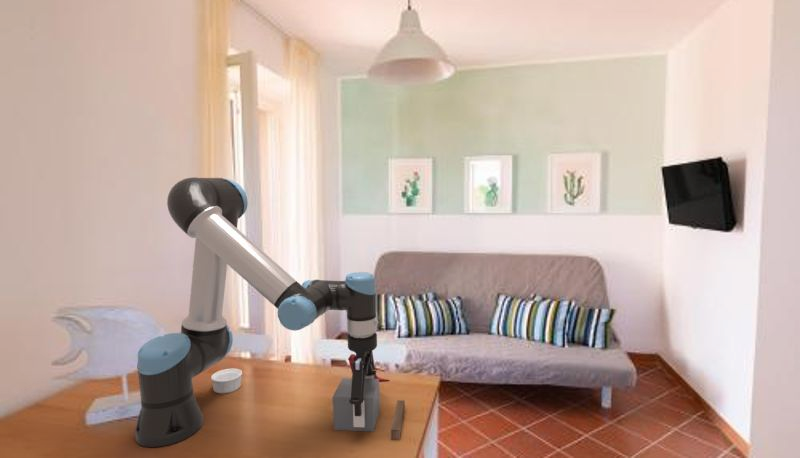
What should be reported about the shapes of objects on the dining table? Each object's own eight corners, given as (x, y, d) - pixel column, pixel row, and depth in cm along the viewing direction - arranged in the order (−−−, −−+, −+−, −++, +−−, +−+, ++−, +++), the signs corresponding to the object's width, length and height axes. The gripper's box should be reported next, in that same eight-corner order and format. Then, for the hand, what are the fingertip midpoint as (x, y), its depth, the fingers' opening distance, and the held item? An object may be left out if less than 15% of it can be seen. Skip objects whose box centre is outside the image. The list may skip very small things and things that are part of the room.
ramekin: (248, 382, 133) (247, 369, 133) (232, 395, 125) (231, 381, 124) (223, 380, 135) (222, 367, 135) (205, 393, 126) (204, 380, 126)
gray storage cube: (333, 429, 106) (332, 396, 105) (343, 408, 116) (342, 378, 115) (373, 431, 105) (372, 397, 104) (379, 410, 115) (379, 379, 114)
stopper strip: (391, 439, 101) (390, 429, 101) (397, 408, 115) (397, 400, 115) (399, 439, 101) (399, 429, 101) (404, 409, 115) (404, 400, 115)
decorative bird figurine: (352, 381, 132) (351, 350, 131) (393, 399, 120) (392, 365, 119) (345, 384, 130) (344, 353, 129) (386, 403, 118) (386, 369, 117)
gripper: (367, 352, 95) (370, 440, 97) (383, 318, 120) (385, 389, 122) (335, 351, 96) (338, 439, 98) (357, 317, 121) (359, 388, 123)
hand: (364, 411), depth 110 cm, fingers open, 13 cm apart
